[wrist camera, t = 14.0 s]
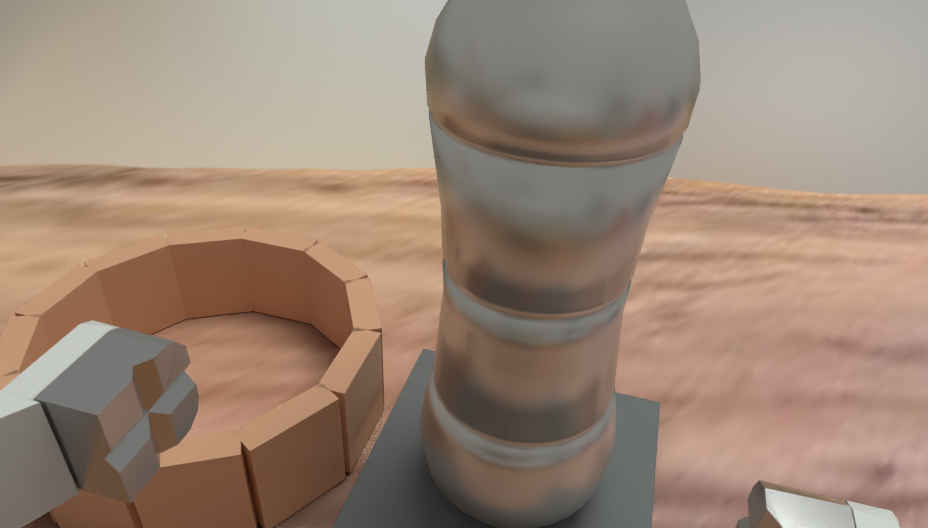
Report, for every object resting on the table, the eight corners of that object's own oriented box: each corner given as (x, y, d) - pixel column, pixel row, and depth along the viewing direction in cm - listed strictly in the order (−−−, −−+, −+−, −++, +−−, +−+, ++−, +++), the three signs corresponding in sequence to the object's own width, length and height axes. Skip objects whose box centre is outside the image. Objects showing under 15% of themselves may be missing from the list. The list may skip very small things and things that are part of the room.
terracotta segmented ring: (-61, 489, 24) (-112, 406, 21) (172, 278, 34) (154, 207, 32) (285, 599, 21) (269, 518, 19) (423, 333, 31) (424, 261, 29)
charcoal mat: (322, 560, 22) (320, 551, 22) (423, 357, 30) (423, 348, 30) (639, 655, 20) (642, 647, 20) (657, 411, 28) (659, 402, 28)
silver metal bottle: (607, 421, 27) (752, -203, 15) (595, 582, 21) (804, -202, 10) (446, 389, 28) (469, -217, 16) (394, 535, 22) (374, -223, 11)
